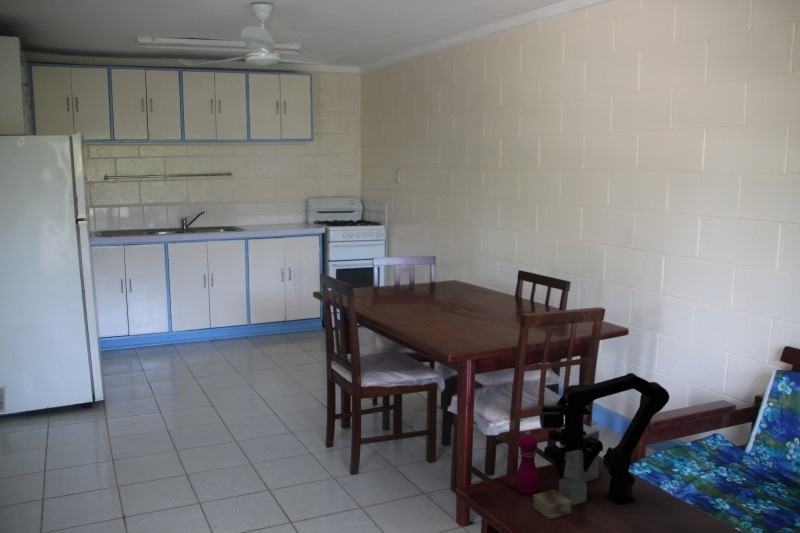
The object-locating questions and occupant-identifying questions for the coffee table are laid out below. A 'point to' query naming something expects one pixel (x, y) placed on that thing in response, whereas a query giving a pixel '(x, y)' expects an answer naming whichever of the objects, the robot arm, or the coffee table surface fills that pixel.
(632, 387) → the robot arm
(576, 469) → the supplement box
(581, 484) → the sage block
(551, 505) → the oak box
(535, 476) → the pepper mill
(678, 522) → the coffee table surface
